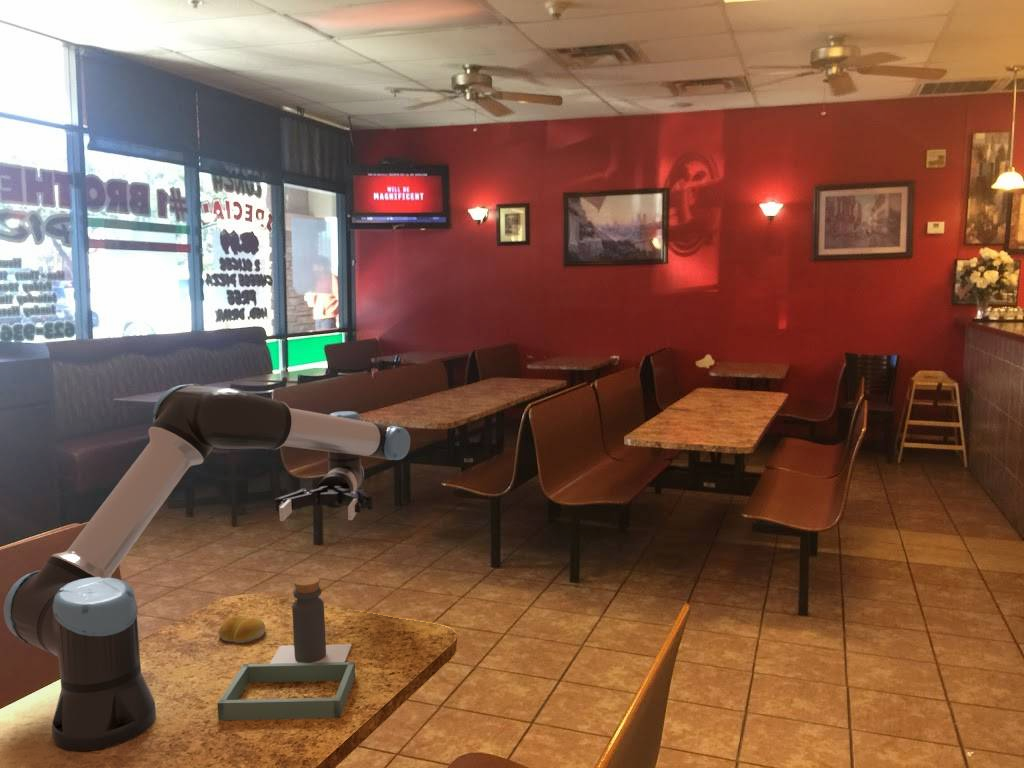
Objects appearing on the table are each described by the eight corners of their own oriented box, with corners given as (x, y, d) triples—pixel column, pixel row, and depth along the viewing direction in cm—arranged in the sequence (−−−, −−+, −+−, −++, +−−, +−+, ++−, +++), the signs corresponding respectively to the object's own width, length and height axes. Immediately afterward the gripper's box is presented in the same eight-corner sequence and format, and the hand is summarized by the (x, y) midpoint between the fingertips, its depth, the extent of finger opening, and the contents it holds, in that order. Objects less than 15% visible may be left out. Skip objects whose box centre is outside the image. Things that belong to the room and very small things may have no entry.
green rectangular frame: (218, 720, 137) (217, 703, 136) (244, 679, 151) (243, 664, 150) (340, 717, 137) (339, 700, 137) (355, 677, 151) (354, 661, 151)
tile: (266, 671, 154) (265, 669, 154) (280, 648, 164) (280, 645, 164) (341, 670, 154) (341, 667, 154) (351, 646, 164) (351, 644, 164)
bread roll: (251, 646, 165) (250, 627, 165) (212, 642, 168) (211, 623, 167) (274, 629, 173) (273, 611, 173) (236, 625, 176) (235, 607, 175)
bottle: (318, 664, 155) (314, 587, 153) (289, 661, 157) (285, 585, 155) (331, 650, 161) (327, 575, 159) (303, 648, 162) (299, 574, 160)
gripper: (393, 503, 187) (379, 531, 166) (281, 505, 187) (253, 533, 166) (392, 471, 186) (378, 494, 165) (280, 472, 186) (251, 496, 165)
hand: (315, 514), depth 165 cm, fingers open, 13 cm apart
